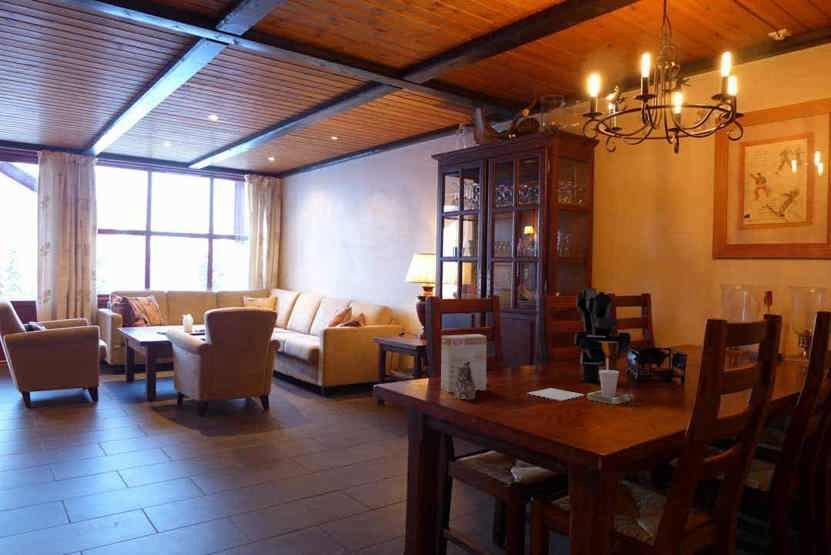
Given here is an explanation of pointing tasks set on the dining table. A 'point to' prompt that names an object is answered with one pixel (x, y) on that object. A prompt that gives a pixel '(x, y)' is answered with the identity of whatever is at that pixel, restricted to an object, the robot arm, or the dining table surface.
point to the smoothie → (608, 382)
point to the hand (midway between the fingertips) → (604, 358)
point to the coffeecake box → (463, 359)
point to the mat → (556, 394)
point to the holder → (598, 397)
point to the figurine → (464, 382)
